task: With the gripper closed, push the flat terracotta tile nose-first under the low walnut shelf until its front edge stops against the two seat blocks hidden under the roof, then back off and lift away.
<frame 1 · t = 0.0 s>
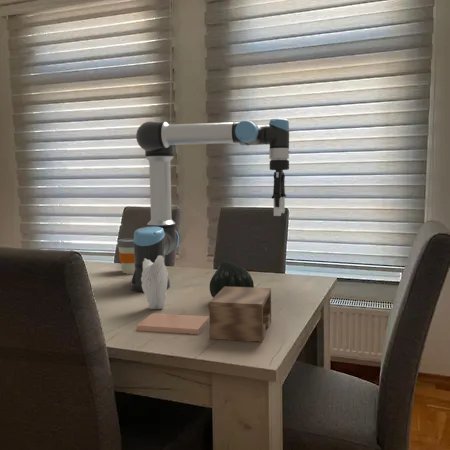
hand: (279, 214, 182), 28 cm above the table, tool pointing down, fingers open, 13 cm apart
tile: (174, 327, 135), on the table
shell sculpture: (155, 309, 153), on the table
squash: (231, 303, 159), on the table
shelf: (242, 329, 130), on the table
reusable coffee cup: (132, 272, 215), on the table
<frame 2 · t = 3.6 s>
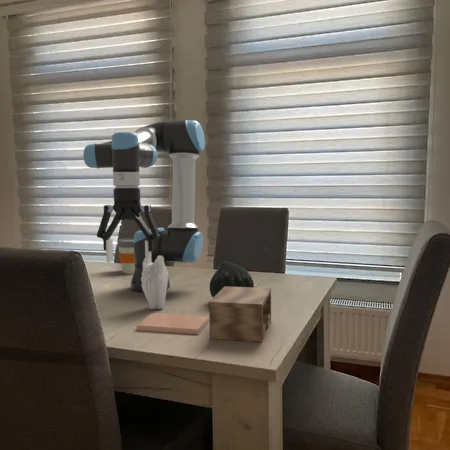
hand: (129, 262, 136), 18 cm above the table, tool pointing down, fingers open, 11 cm apart
nothing on the table moved.
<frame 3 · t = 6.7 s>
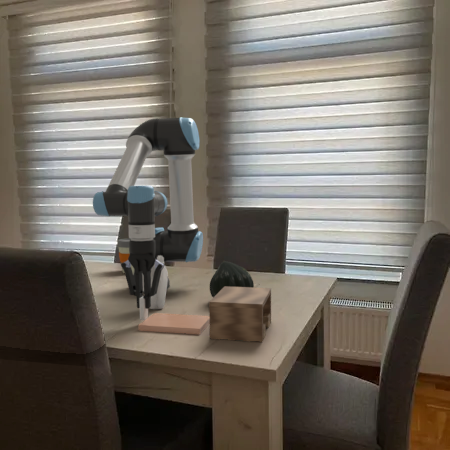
hand: (144, 318, 136), 2 cm above the table, tool pointing down, fingers closed
tile: (176, 327, 135), on the table, touching gripper
everything else where it was.
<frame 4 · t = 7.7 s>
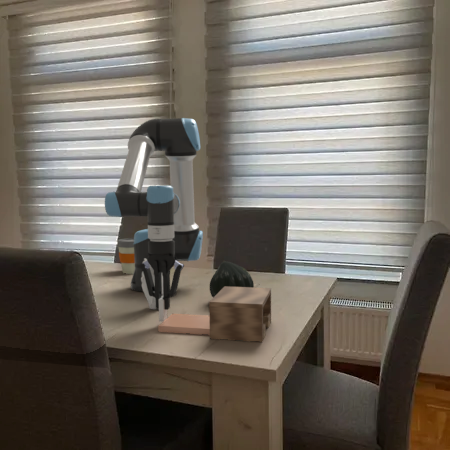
hand: (163, 320, 135), 1 cm above the table, tool pointing down, fingers closed
tile: (195, 327, 133), on the table, touching gripper
everything else where it was.
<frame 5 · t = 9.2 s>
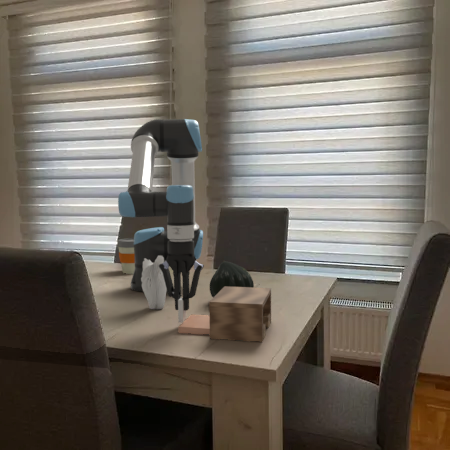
hand: (182, 321, 134), 2 cm above the table, tool pointing down, fingers closed
tile: (215, 328, 132), on the table
everything else where it was.
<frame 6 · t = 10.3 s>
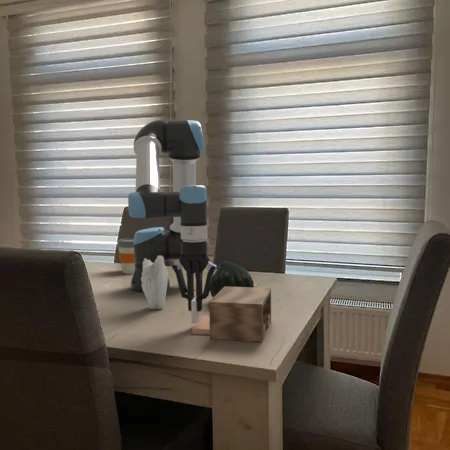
hand: (195, 322, 133), 1 cm above the table, tool pointing down, fingers closed
tile: (229, 330, 131), on the table
everything else where it was.
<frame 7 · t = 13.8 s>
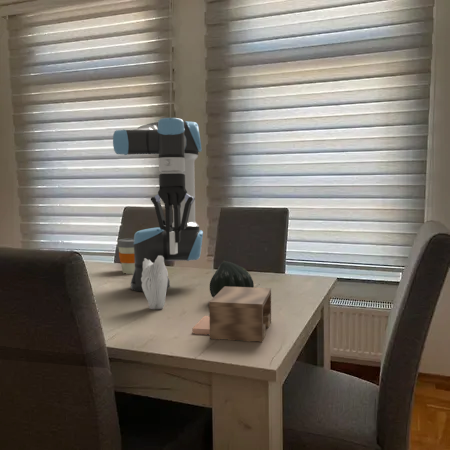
hand: (173, 253, 137), 20 cm above the table, tool pointing down, fingers closed
nothing on the table moved.
at the end: tile 0.4 cm from the target spot, on the table; tile tilted 0°; the gripper is holding nothing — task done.
